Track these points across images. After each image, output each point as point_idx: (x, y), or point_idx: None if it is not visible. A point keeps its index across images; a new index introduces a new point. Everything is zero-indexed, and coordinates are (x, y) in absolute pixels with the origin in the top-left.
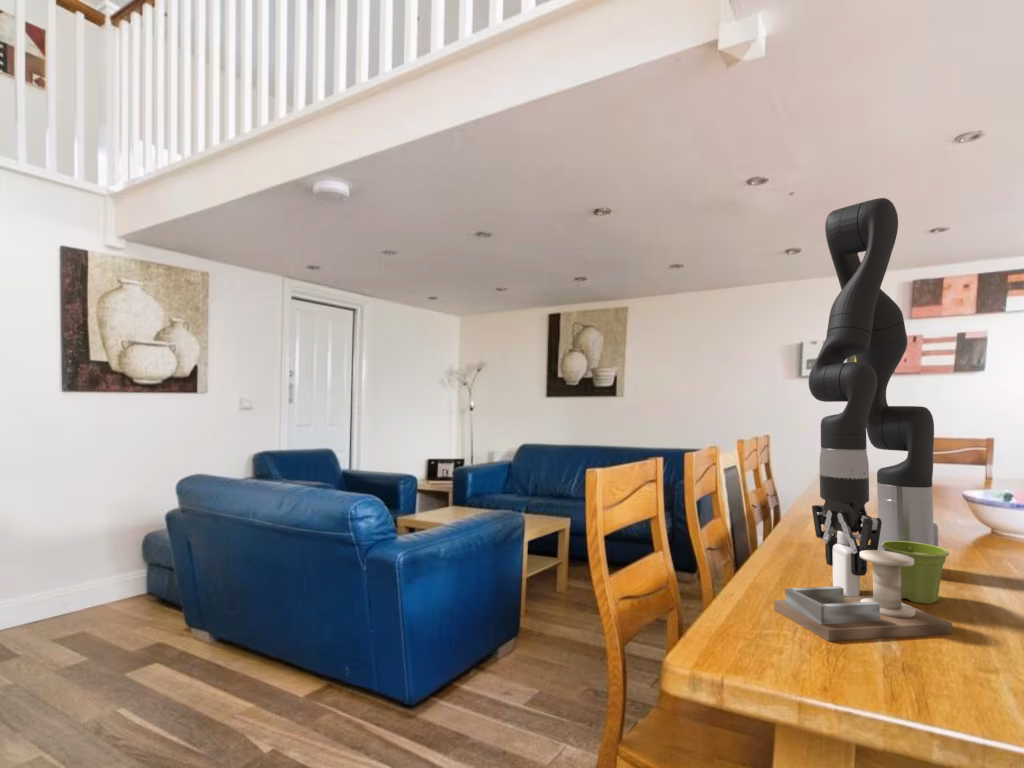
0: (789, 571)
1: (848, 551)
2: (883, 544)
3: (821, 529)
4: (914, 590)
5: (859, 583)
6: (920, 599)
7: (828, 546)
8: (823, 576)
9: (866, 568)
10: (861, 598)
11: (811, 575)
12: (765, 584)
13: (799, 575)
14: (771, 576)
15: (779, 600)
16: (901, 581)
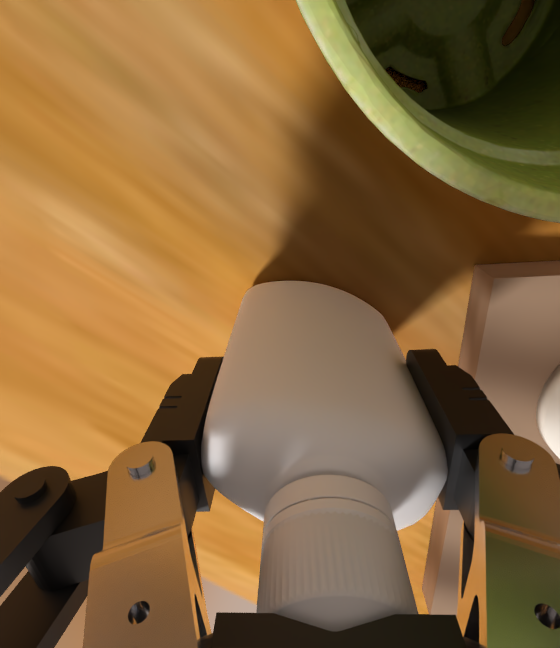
0: (17, 367)
1: (420, 516)
2: (431, 138)
3: (56, 617)
4: (553, 69)
5: (393, 338)
6: (543, 43)
7: (208, 503)
8: (69, 264)
9: (474, 384)
10: (498, 402)
11: (63, 310)
12: (205, 515)
13: (74, 360)
14: (108, 461)
15: (434, 609)
16: (503, 116)
